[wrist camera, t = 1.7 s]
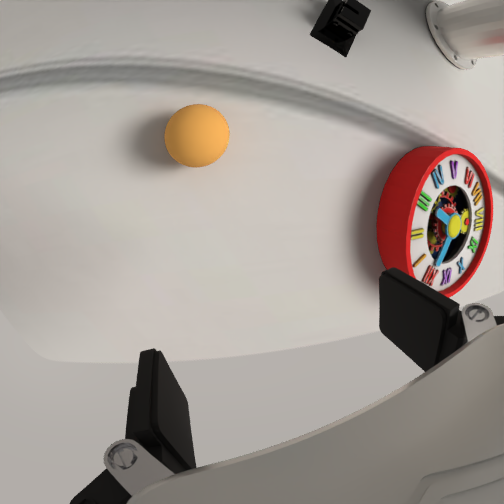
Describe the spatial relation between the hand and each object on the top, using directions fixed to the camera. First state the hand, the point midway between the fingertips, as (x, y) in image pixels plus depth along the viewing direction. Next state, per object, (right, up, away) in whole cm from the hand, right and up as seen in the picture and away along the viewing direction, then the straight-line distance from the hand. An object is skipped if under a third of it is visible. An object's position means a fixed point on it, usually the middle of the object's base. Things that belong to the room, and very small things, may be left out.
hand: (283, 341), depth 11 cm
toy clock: (+23, +8, +24) cm, 35 cm away
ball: (-6, +13, +12) cm, 19 cm away
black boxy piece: (+9, +30, +14) cm, 34 cm away
